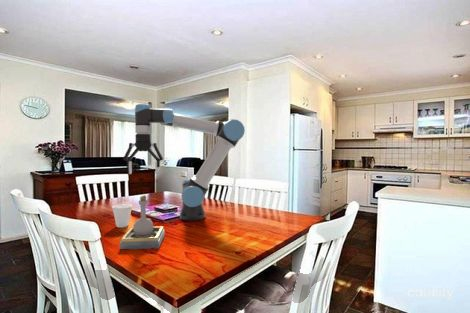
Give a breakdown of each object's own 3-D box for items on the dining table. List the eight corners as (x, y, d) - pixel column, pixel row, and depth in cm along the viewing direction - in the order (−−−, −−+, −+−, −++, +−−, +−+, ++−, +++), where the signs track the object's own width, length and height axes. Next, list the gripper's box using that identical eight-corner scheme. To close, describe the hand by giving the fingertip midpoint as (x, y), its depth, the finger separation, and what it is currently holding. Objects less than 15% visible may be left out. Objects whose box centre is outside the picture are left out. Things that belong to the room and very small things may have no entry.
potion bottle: (157, 233, 121) (157, 194, 120) (145, 239, 113) (144, 198, 112) (142, 230, 124) (141, 193, 123) (128, 237, 116) (128, 197, 115)
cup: (125, 229, 136) (124, 208, 135) (108, 228, 138) (107, 207, 137) (135, 223, 145) (135, 204, 145) (120, 222, 147) (119, 203, 147)
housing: (164, 235, 127) (164, 226, 127) (158, 248, 111) (158, 237, 111) (130, 236, 125) (130, 227, 125) (119, 249, 110) (119, 239, 109)
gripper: (167, 134, 143) (168, 172, 144) (120, 133, 141) (121, 173, 142) (165, 133, 136) (166, 174, 137) (116, 133, 133) (116, 174, 134)
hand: (143, 173), depth 139 cm, fingers open, 13 cm apart
